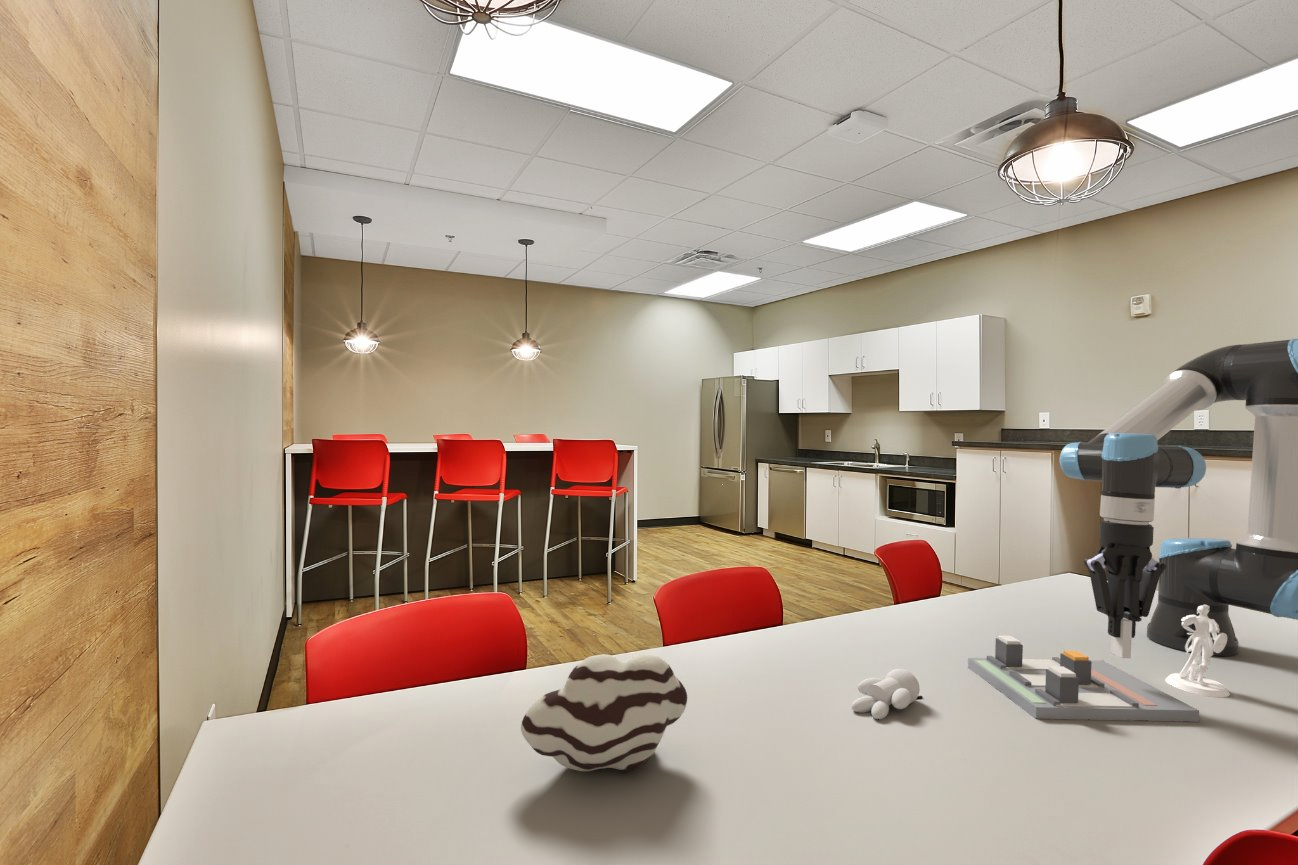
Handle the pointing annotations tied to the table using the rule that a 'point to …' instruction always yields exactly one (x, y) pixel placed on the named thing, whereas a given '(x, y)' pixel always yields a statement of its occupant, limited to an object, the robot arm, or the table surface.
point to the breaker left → (1009, 651)
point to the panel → (1083, 693)
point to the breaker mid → (1077, 665)
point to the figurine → (1206, 646)
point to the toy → (887, 693)
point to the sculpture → (606, 713)
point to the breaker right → (1062, 684)
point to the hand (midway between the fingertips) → (1120, 655)
